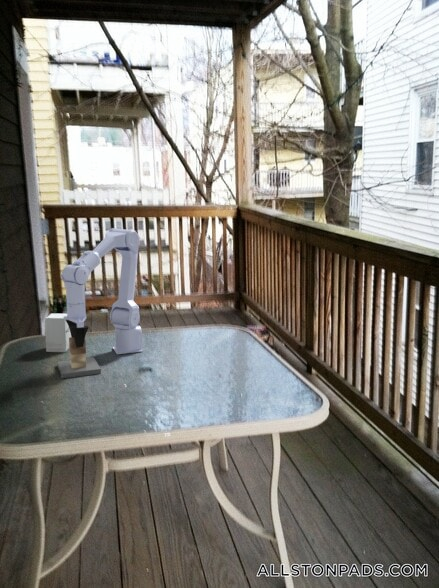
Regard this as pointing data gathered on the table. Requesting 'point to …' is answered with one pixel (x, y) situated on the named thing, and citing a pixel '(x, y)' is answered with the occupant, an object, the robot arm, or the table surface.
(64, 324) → the supplement box
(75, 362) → the maple block
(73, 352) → the walnut block
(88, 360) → the plate
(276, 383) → the table surface
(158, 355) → the table surface
